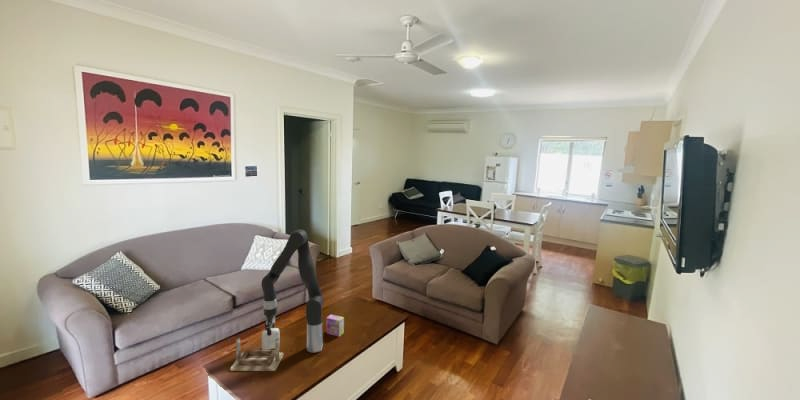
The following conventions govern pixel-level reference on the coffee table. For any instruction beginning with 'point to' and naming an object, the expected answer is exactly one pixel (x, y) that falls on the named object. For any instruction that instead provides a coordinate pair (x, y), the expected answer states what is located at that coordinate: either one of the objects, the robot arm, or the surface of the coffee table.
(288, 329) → the coffee table surface
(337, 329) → the box
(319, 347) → the robot arm
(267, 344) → the photo printer
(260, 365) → the beige hollow frame piece
